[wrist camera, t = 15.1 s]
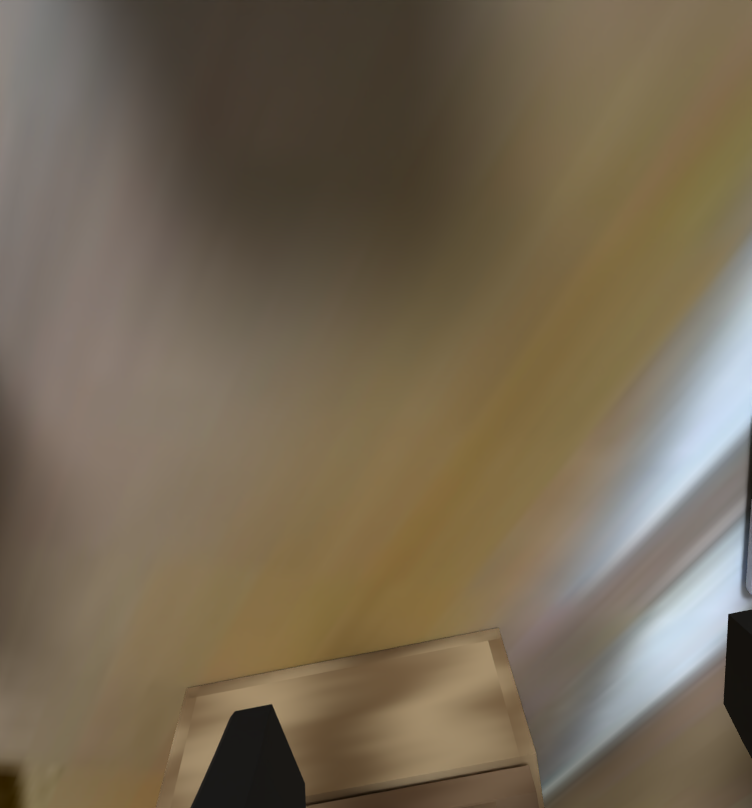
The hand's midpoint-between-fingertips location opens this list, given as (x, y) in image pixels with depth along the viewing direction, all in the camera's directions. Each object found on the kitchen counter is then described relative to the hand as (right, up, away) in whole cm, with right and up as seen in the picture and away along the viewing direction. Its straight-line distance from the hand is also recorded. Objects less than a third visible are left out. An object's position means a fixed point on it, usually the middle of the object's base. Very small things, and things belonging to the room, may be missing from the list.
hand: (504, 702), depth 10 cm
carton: (-2, -9, +16) cm, 18 cm away
